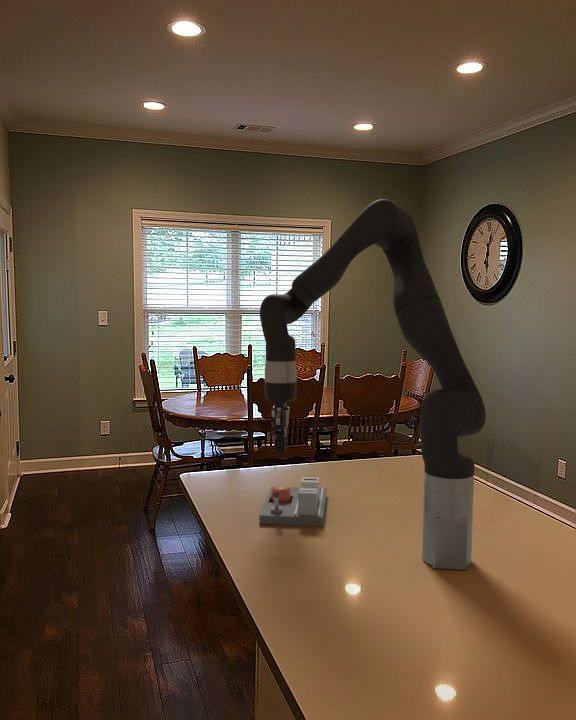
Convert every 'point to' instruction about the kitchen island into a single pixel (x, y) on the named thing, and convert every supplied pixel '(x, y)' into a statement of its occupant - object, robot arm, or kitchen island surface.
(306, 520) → the panel
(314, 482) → the cream fader knob
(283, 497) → the red push button
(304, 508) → the slate-blue fader knob
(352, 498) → the kitchen island surface
